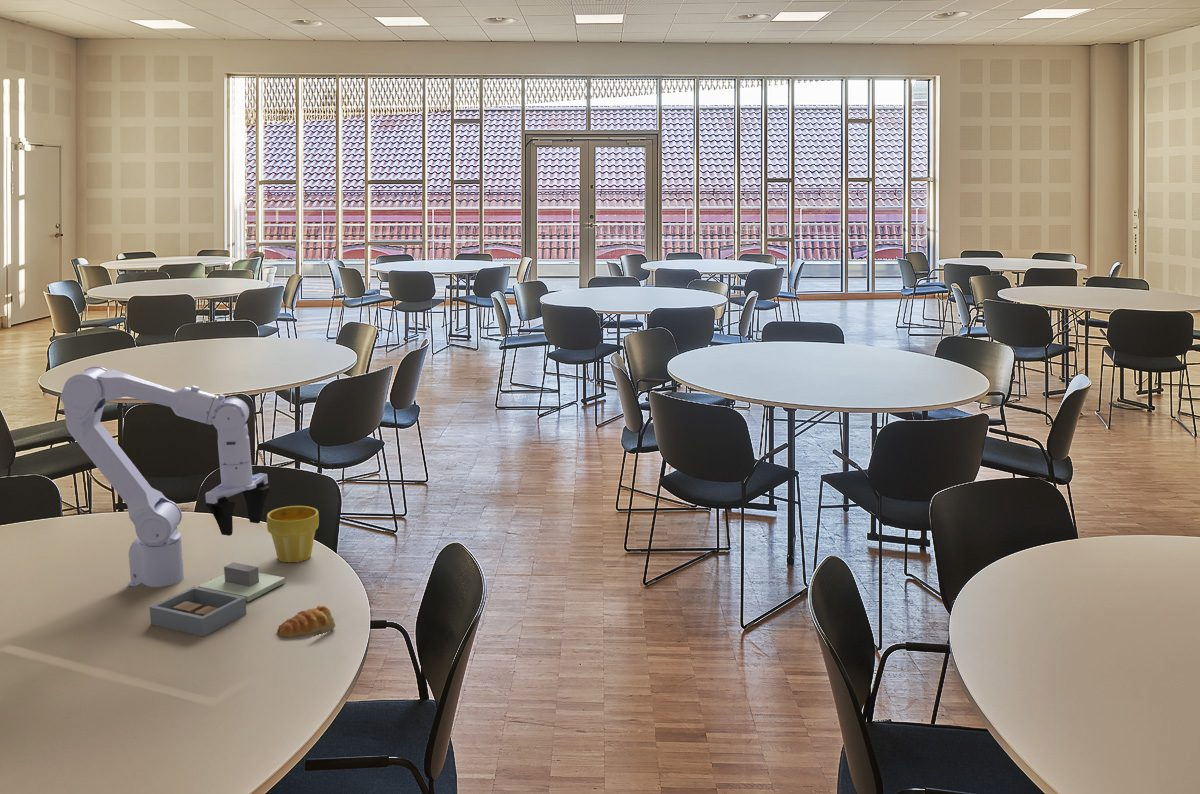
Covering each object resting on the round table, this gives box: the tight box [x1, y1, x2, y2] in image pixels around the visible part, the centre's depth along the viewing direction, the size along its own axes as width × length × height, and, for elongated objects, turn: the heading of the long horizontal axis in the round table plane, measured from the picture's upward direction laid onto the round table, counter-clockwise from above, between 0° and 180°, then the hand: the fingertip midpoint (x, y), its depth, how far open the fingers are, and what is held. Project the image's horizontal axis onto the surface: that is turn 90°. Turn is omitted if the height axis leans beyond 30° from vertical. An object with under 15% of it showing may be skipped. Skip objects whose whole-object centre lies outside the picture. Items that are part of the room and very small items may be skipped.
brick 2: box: [195, 606, 218, 616], centre depth 167 cm, size 4×3×2 cm
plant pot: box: [266, 505, 320, 564], centre depth 200 cm, size 10×10×10 cm
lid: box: [197, 562, 286, 603], centre depth 182 cm, size 12×10×5 cm
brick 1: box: [172, 601, 203, 615], centre depth 169 cm, size 4×3×2 cm
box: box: [148, 586, 247, 638], centre depth 168 cm, size 12×10×4 cm
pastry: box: [276, 605, 336, 638], centre depth 166 cm, size 9×7×4 cm
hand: (241, 528), depth 187 cm, fingers open, 7 cm apart
